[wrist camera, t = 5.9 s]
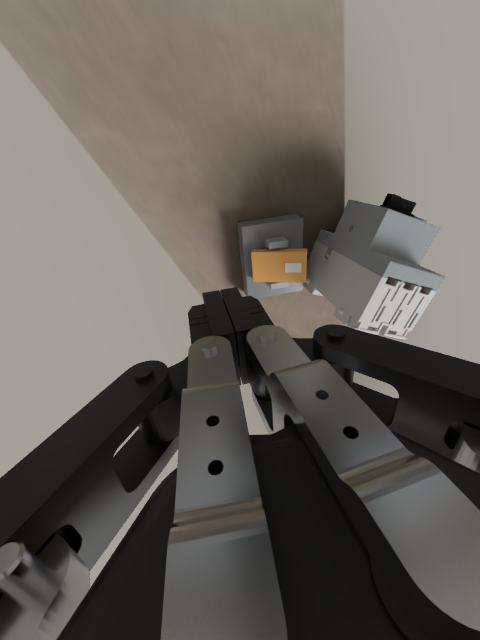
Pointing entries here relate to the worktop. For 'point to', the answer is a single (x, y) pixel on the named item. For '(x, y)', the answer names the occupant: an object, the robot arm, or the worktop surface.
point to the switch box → (269, 236)
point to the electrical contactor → (375, 267)
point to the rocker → (279, 265)
